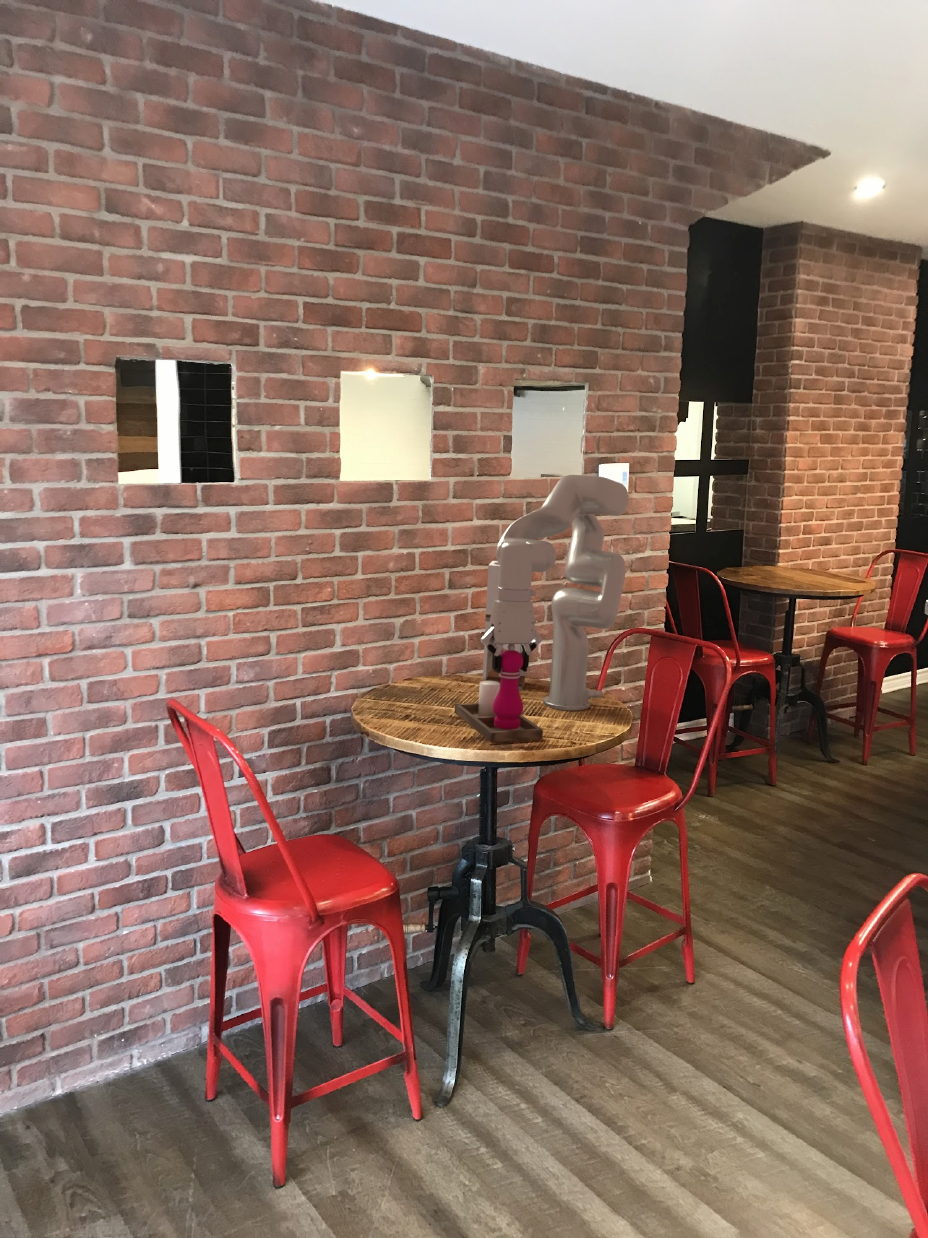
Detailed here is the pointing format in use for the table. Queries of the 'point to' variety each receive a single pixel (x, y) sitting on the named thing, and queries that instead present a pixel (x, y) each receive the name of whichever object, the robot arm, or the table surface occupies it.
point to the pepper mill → (509, 691)
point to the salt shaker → (487, 697)
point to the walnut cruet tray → (493, 733)
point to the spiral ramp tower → (491, 596)
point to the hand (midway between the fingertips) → (510, 670)
